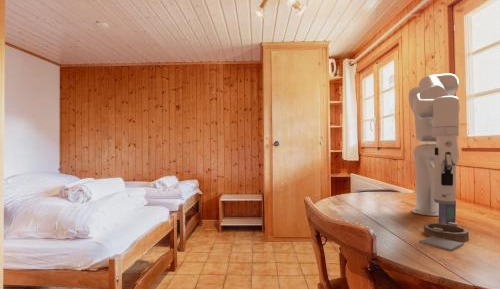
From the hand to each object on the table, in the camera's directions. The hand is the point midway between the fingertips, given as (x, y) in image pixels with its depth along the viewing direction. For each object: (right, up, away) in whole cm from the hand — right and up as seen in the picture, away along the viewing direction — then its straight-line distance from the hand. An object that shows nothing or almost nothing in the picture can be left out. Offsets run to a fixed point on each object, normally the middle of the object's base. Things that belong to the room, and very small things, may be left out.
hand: (445, 183), depth 101 cm
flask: (+8, -18, +12) cm, 23 cm away
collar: (0, -18, -1) cm, 18 cm away
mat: (-8, -18, -9) cm, 22 cm away
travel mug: (0, -7, 0) cm, 7 cm away
